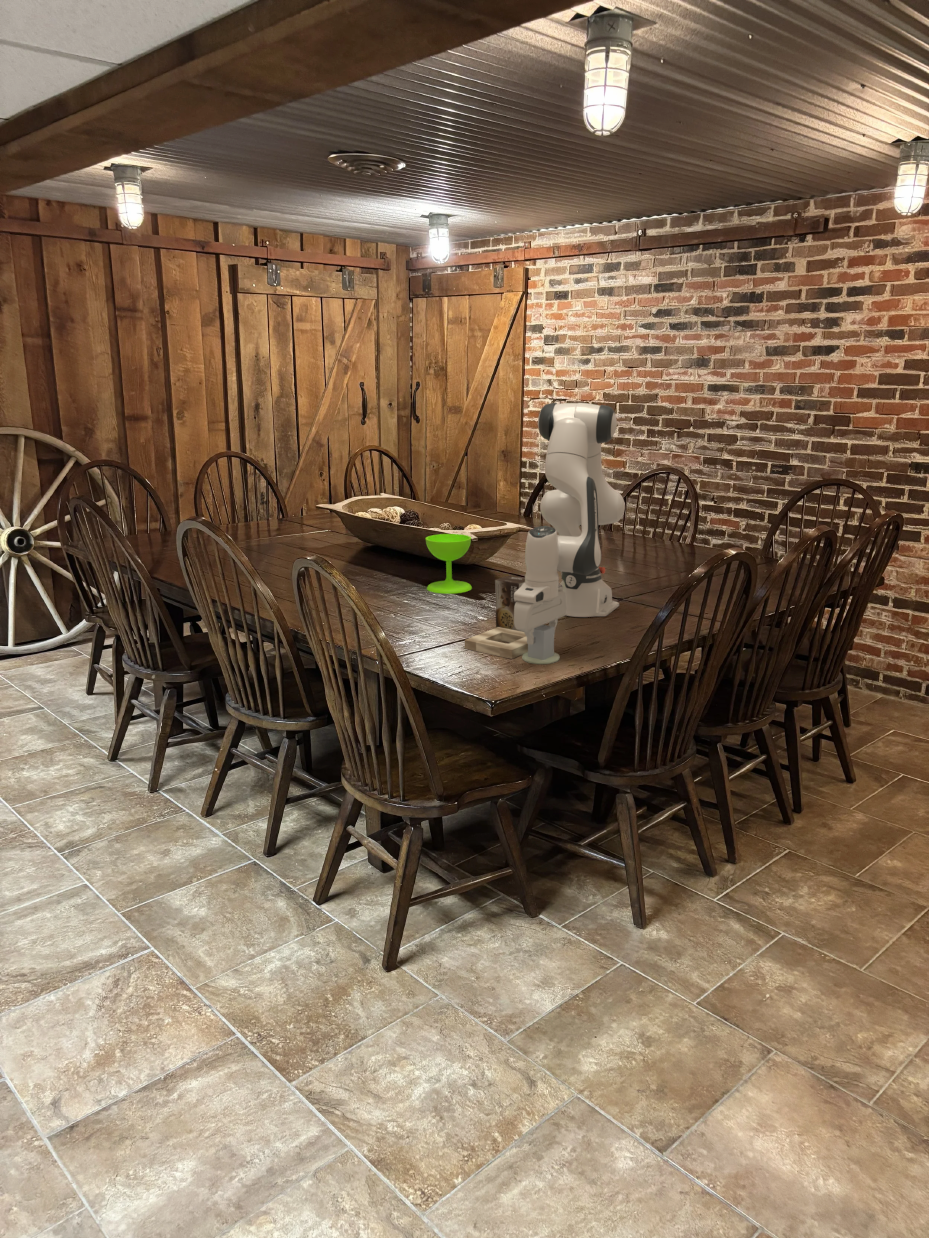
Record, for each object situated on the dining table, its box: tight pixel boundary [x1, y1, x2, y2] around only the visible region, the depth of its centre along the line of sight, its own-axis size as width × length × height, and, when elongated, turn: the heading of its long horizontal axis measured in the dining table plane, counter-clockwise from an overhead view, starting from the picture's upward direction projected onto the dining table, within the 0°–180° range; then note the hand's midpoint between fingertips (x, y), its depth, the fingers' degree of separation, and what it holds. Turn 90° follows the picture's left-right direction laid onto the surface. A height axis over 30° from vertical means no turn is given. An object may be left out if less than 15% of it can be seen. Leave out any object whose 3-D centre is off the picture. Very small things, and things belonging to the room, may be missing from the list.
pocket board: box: [464, 627, 528, 660], centre depth 256 cm, size 16×16×2 cm
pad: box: [521, 652, 560, 665], centre depth 245 cm, size 10×10×1 cm
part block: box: [528, 624, 555, 660], centre depth 244 cm, size 5×5×8 cm
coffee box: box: [494, 575, 525, 632], centre depth 267 cm, size 9×6×16 cm
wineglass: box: [425, 533, 473, 595], centre depth 321 cm, size 16×16×18 cm
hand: (541, 639), depth 244 cm, fingers open, 8 cm apart
